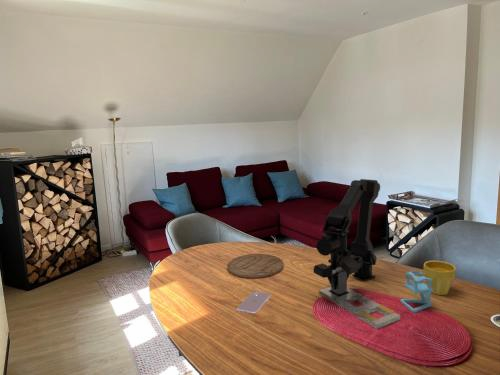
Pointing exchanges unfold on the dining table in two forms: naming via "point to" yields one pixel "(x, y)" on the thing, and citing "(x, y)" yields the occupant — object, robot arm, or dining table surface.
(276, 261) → the trivet
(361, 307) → the grey slotted board
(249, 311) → the mobile phone
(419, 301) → the light blue stand
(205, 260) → the dining table surface
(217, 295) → the dining table surface
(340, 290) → the steel peg
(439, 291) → the plant pot
